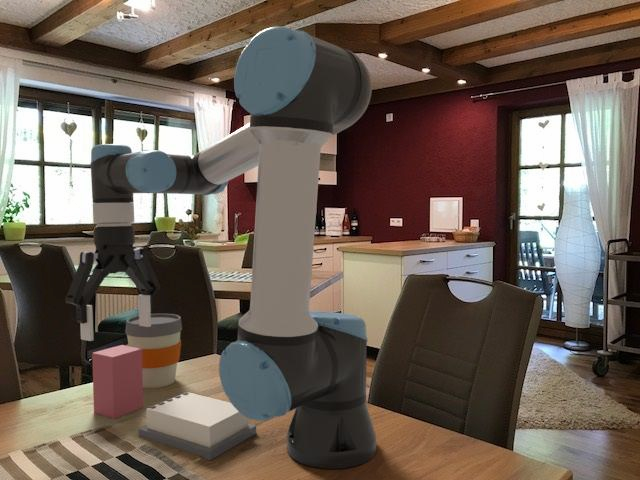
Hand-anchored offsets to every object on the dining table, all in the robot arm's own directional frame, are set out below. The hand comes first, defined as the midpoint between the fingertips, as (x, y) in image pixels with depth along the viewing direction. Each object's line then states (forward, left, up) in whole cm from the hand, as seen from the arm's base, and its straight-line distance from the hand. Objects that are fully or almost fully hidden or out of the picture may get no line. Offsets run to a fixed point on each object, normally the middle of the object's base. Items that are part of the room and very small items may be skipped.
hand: (117, 332), depth 106 cm
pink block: (0, 0, -16) cm, 16 cm away
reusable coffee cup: (+8, -16, -16) cm, 24 cm away
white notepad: (-21, 0, -16) cm, 27 cm away
